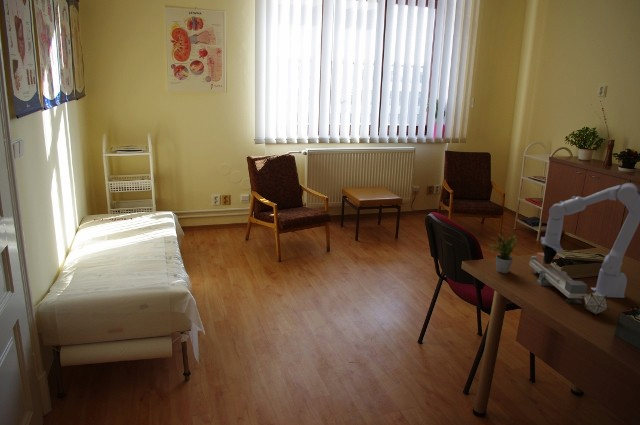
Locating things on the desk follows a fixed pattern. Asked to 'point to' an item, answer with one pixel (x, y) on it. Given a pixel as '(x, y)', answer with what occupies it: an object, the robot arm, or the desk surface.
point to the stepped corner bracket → (547, 283)
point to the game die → (595, 302)
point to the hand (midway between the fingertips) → (547, 263)
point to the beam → (560, 280)
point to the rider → (541, 260)
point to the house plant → (504, 254)
